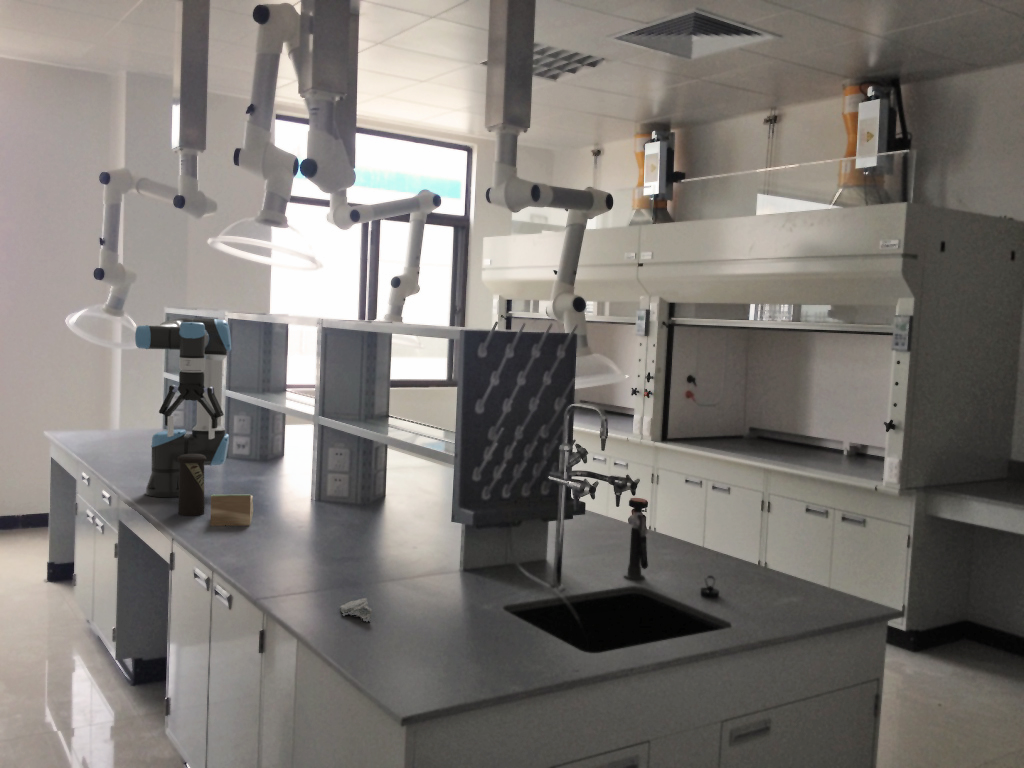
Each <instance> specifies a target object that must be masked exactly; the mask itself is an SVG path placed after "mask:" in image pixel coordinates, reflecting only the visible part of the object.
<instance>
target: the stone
mask: <svg viewBox="0 0 1024 768" xmlns="http://www.w3.org/2000/svg"><path fill="white" fill-rule="evenodd" d="M339 608H340V612H341V613H348V612H351V613H352V614H356V615H358V616H357V617H360V618H361V617H362V618H363V619H370V620H371V618H370V616H371V614H372V613H373V609H372V608H371V607H370V606H369V602H368V598H367V597H363V598H359V599H357V600H355V599H354V600H350V601H348V602H346V603H344V604H342V605H340V606H339ZM362 618H361V619H362Z"/></svg>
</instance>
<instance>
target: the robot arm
mask: <svg viewBox="0 0 1024 768" xmlns="http://www.w3.org/2000/svg"><path fill="white" fill-rule="evenodd" d="M229 325H230V324H229V323H228V321H226V320H225V319H218V318H193V317H183V318H181V317H180V318H176V319H170V320H166V321H162V322H161V323H160V324H158V325H149V324H148V325H138V326H137V327H136V329H135V334H134V339H135V346H136V347H137V348H138V349H142V350H143V349H145V350H170V351H171V350H172V351H173V350H175V351H179V365H178V366H179V367H178V368H179V370H180V371H179V372H178V373H179V374H178V383H179V384H178V385H176V384H171V385H169V386H168V393H167V395H166V396H165V398H164V400H163V403H162V405H161V407H160V409H159V411H158V413H159V414H162V415H164V425H165V426H166V427H167V430H163V431H159V432H156V433H154V434H153V435H152V437H151V446H150V447H151V473H150V475H149V478H148V482H147V483H146V487H145V494H146V496H149V497H155V498H176V497H179V471H180V462H179V461H178V457H179V456H180V455H184V454H202V455H204V456H205V457H206V460H205V462H204V466H210V467H213V466H222V465H223V464H224V463H225V462H226V459H227V455H228V450H229V443H230V434H228V433H226V428H225V427H224V426H223V425H222V417H223V416H224V412H223V409H222V405H223V403H222V402H223V401H222V399H223V394H222V393H223V389H222V388H223V360H225V359H226V358H227V356H228V353H229V352H231V351H232V336H231V331H230V326H229ZM178 392H179V393H180V394H179V395H178V396H177V397H176V399H175V401H174V402H173V403H172V401H173V399H174V397H175V395H176V393H178ZM184 401H193V402H194V401H197V402H196V424H195V426H193V428H192V429H191V433H187V431H186V429H182V428H181V429H179V428H178V429H175V424H174V423H175V419H174V418H175V415H173V413H174V412H175V411H176V410H177V408H178V407H179V406H180V405H181V403H183V402H184ZM171 403H172V404H171ZM170 404H171V405H170Z"/></svg>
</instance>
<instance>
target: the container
mask: <svg viewBox="0 0 1024 768" xmlns="http://www.w3.org/2000/svg"><path fill="white" fill-rule="evenodd" d="M205 460H206V457H205V456H204V455H202V454H184V455H180V456H179V457H178V461H179V462H180V471H179V496H178V505H177V506H178V507H177V508H178V510H177V513H178V515H181V516H187V517H188V516H200V515H204V514H205V465H204V462H205Z"/></svg>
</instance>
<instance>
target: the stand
mask: <svg viewBox="0 0 1024 768" xmlns="http://www.w3.org/2000/svg"><path fill="white" fill-rule="evenodd" d="M253 497H254V496H253V495H251V494H246V493H245V494H242V493H241V494H240V493H239V494H235V493H233V494H211V495H210V526H211V527H212V526H213V527H219V526H220V527H221V526H225V525H226V526H231V527H233V526H251V522H252V519H253V516H254V503H253V502H254V498H253ZM226 526H225V527H226Z"/></svg>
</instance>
